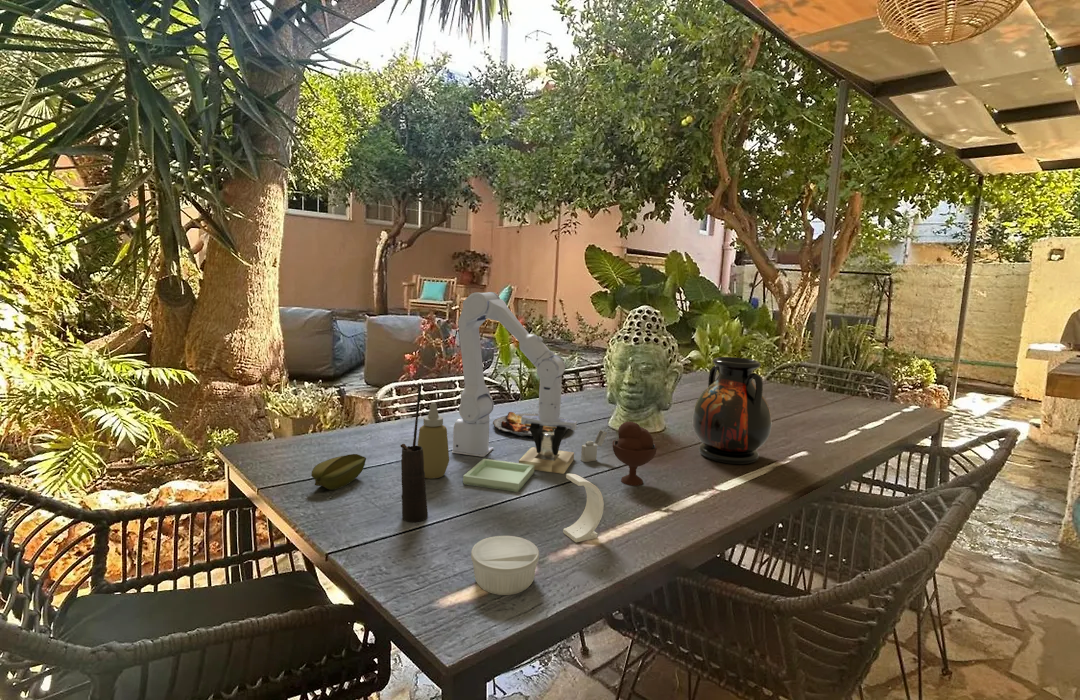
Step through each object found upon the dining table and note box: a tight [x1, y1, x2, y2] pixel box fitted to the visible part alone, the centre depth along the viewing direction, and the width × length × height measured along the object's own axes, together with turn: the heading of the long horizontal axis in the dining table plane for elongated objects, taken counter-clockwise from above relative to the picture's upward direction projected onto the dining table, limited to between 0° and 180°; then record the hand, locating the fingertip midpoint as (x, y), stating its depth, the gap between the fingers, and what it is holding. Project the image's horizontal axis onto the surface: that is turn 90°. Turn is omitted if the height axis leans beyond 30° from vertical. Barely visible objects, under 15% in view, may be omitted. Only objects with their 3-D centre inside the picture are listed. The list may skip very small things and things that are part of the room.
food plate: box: [492, 411, 568, 437], centre depth 187 cm, size 25×23×4 cm
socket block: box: [518, 446, 575, 475], centre depth 155 cm, size 12×12×2 cm
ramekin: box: [470, 535, 540, 596], centre depth 96 cm, size 11×11×5 cm
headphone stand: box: [562, 473, 605, 543], centre depth 113 cm, size 5×6×12 cm
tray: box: [462, 458, 535, 493], centre depth 142 cm, size 14×14×2 cm
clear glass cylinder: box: [540, 432, 555, 461], centre depth 154 cm, size 4×4×8 cm
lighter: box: [580, 429, 608, 463], centre depth 159 cm, size 7×2×8 cm, turn 120°
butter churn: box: [399, 383, 429, 523], centre depth 117 cm, size 9×10×28 cm
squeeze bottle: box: [417, 402, 450, 480], centre depth 141 cm, size 8×8×18 cm
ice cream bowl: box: [612, 421, 658, 487], centre depth 143 cm, size 11×11×15 cm
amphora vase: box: [691, 356, 773, 465], centre depth 166 cm, size 22×22×28 cm
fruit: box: [311, 453, 367, 491], centre depth 134 cm, size 11×12×7 cm
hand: (547, 452), depth 154 cm, fingers closed on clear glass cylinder, 4 cm apart
